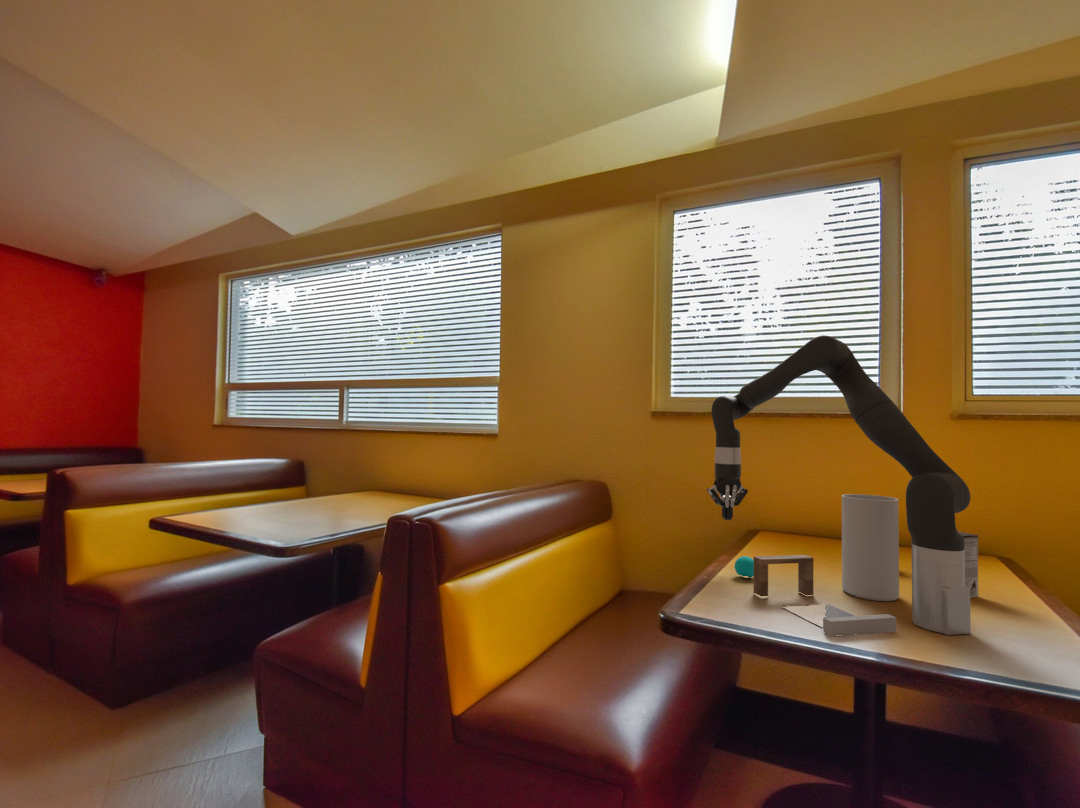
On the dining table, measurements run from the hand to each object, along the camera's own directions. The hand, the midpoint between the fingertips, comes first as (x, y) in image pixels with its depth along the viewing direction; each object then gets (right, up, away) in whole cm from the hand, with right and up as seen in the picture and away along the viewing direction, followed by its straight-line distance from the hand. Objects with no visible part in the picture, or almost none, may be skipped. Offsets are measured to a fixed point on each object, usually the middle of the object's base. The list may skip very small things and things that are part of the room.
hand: (727, 519), depth 158 cm
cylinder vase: (+29, -15, -22) cm, 39 cm away
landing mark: (+8, -13, -39) cm, 42 cm away
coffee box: (+53, -15, -19) cm, 58 cm away
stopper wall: (+10, -13, -49) cm, 52 cm away
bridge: (+5, -14, -26) cm, 29 cm away
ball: (+2, -11, -10) cm, 15 cm away
